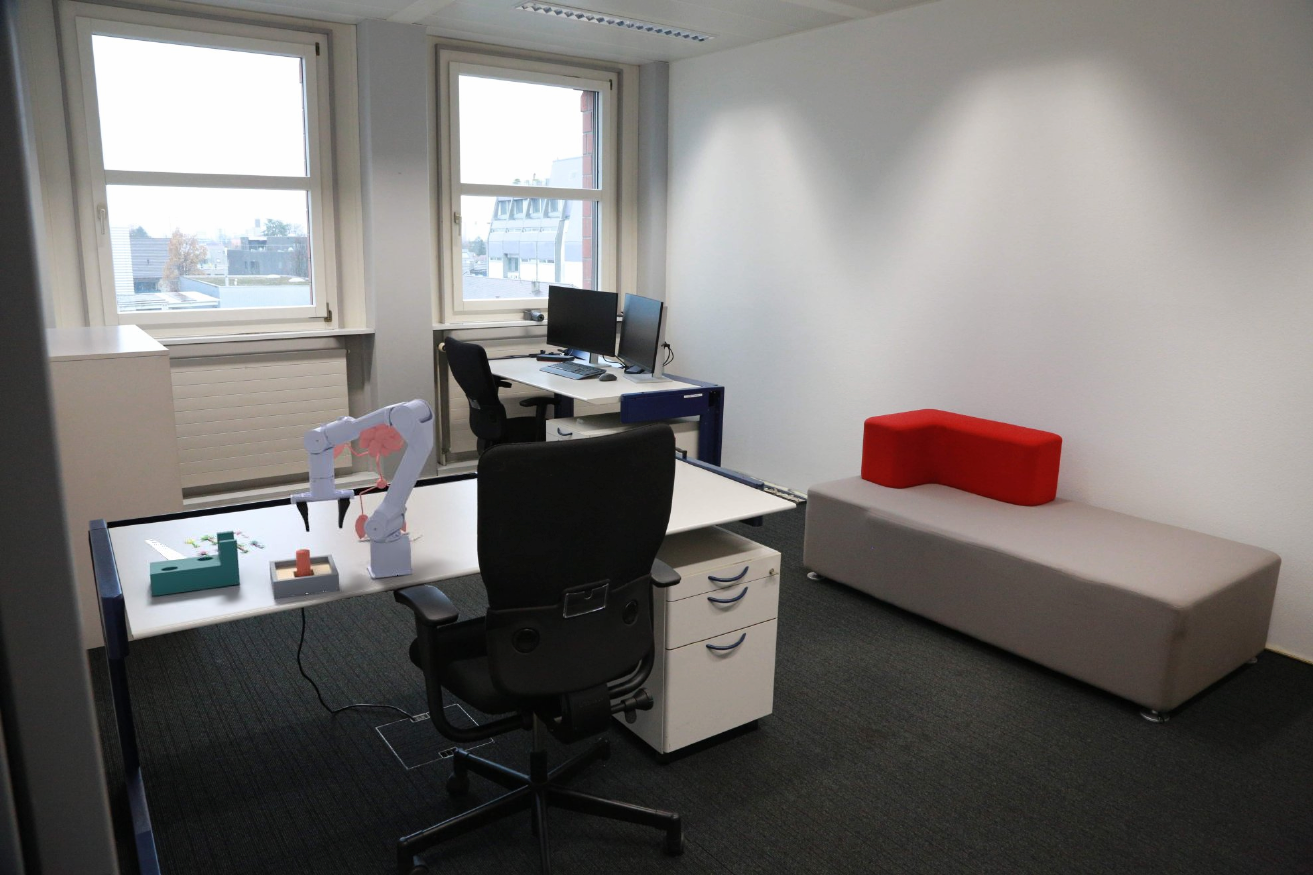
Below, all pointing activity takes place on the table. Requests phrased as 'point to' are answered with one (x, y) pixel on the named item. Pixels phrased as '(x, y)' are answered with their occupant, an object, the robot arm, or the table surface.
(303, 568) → the peg
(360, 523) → the figurine
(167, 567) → the teal l-shaped bracket
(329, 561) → the box
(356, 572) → the table surface
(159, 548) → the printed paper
